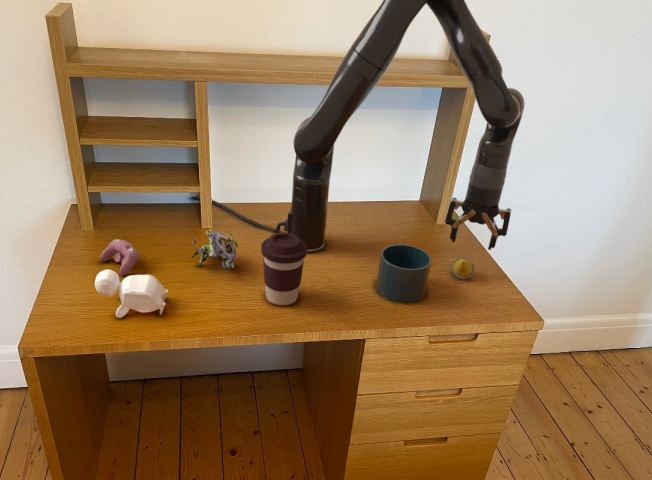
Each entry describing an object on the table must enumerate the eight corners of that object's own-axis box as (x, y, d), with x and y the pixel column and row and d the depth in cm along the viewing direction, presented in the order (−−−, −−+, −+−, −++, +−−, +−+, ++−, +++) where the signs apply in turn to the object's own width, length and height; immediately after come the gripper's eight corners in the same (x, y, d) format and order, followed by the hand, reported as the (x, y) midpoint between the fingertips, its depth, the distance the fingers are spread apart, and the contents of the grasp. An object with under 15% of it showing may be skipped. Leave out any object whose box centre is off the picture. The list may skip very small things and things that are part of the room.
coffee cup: (287, 315, 128) (291, 256, 120) (251, 299, 132) (252, 241, 124) (311, 294, 135) (316, 237, 127) (275, 280, 139) (278, 224, 131)
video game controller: (136, 277, 139) (144, 250, 138) (119, 276, 136) (129, 248, 134) (113, 261, 145) (121, 235, 143) (97, 260, 141) (105, 233, 140)
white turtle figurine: (160, 306, 133) (94, 285, 128) (172, 277, 129) (104, 254, 124) (155, 329, 126) (85, 308, 121) (168, 299, 122) (95, 276, 117)
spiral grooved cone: (476, 278, 147) (478, 268, 138) (456, 284, 148) (456, 275, 139) (469, 258, 149) (470, 247, 139) (449, 265, 150) (448, 255, 140)
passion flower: (230, 286, 146) (240, 267, 135) (186, 280, 143) (193, 261, 132) (232, 245, 150) (242, 224, 140) (190, 239, 147) (196, 217, 137)
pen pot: (370, 295, 137) (375, 262, 132) (383, 271, 146) (388, 240, 141) (418, 308, 134) (425, 274, 129) (428, 283, 143) (435, 251, 138)
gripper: (520, 181, 133) (503, 244, 142) (457, 170, 137) (444, 231, 146) (518, 193, 127) (500, 258, 136) (452, 181, 131) (439, 244, 140)
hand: (471, 244), depth 141 cm, fingers open, 8 cm apart
